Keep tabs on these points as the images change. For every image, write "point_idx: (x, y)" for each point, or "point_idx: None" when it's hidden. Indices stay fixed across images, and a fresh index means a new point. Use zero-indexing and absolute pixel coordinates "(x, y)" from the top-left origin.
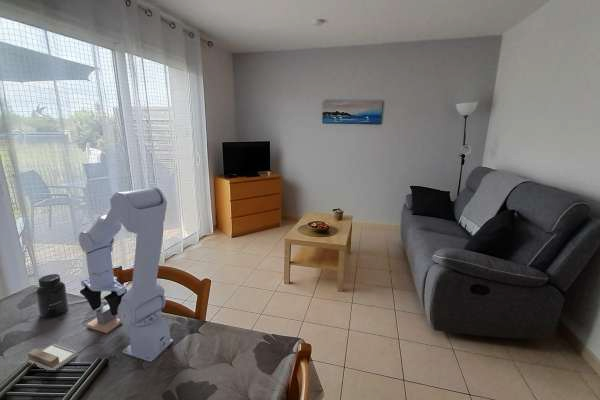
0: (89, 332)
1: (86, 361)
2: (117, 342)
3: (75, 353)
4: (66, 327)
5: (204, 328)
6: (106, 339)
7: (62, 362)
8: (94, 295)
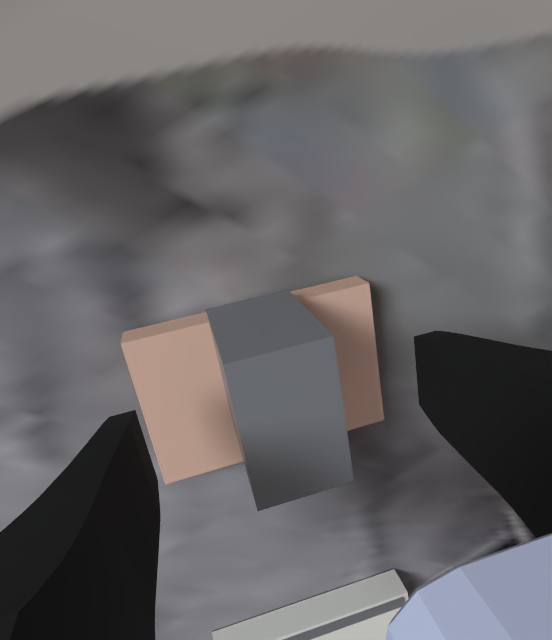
0: (242, 467)
1: (478, 548)
2: None
3: (403, 587)
4: None
5: None
6: (419, 425)
7: None
8: (129, 620)
